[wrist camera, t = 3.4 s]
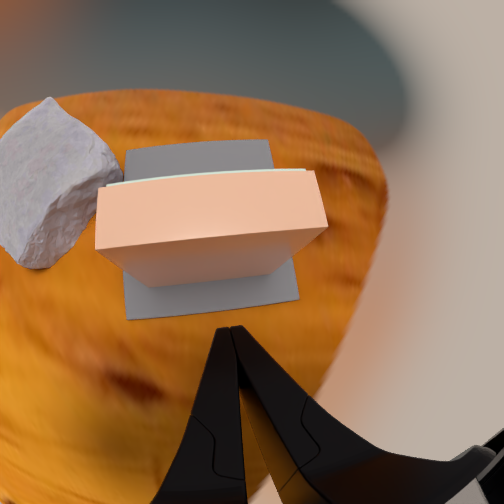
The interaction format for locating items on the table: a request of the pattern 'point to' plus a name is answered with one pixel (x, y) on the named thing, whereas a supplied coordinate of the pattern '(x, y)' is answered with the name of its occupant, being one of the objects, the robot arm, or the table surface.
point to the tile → (208, 224)
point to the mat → (212, 292)
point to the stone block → (50, 183)
